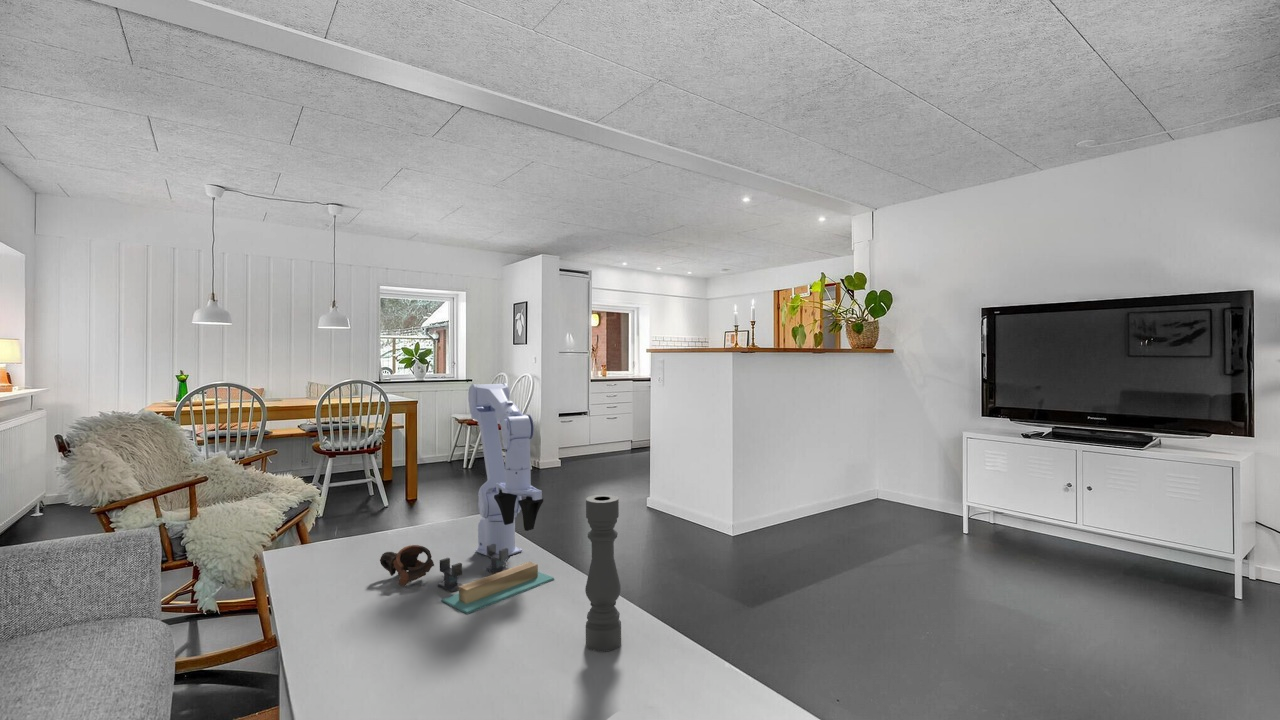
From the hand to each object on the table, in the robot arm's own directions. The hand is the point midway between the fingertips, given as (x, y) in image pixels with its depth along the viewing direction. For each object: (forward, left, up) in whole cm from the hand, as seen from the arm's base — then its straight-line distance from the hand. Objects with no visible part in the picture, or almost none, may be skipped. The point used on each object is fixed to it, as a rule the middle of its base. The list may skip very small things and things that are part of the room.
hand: (518, 526), depth 132 cm
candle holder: (+38, -11, -11) cm, 41 cm away
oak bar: (+5, -9, -10) cm, 14 cm away
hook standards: (-4, -9, -10) cm, 14 cm away
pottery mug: (-17, -18, -11) cm, 27 cm away
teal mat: (+5, -9, -10) cm, 15 cm away
